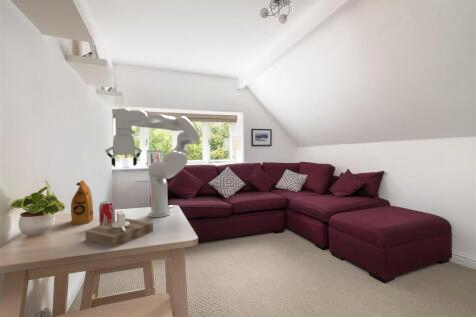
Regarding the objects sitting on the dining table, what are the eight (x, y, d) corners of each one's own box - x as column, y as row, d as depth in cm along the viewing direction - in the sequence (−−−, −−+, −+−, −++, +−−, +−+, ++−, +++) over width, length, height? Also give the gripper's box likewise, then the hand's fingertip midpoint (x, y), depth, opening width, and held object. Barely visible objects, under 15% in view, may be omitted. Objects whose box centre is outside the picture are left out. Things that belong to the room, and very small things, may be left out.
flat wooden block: (126, 226, 115) (126, 217, 115) (153, 231, 108) (152, 222, 108) (85, 240, 97) (85, 230, 97) (114, 247, 90) (114, 236, 90)
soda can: (108, 228, 113) (107, 203, 112) (96, 227, 114) (95, 203, 114) (118, 223, 120) (117, 200, 119) (106, 223, 121) (106, 200, 121)
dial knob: (111, 225, 103) (110, 212, 103) (128, 222, 107) (127, 209, 107) (115, 233, 93) (114, 218, 93) (133, 230, 97) (133, 216, 97)
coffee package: (67, 226, 116) (66, 183, 116) (74, 219, 128) (73, 180, 127) (90, 223, 120) (89, 182, 119) (95, 217, 132) (94, 179, 131)
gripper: (139, 134, 127) (140, 164, 127) (103, 132, 117) (104, 166, 117) (143, 133, 120) (143, 165, 121) (105, 131, 110) (106, 167, 111)
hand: (124, 165), depth 119 cm, fingers open, 9 cm apart
